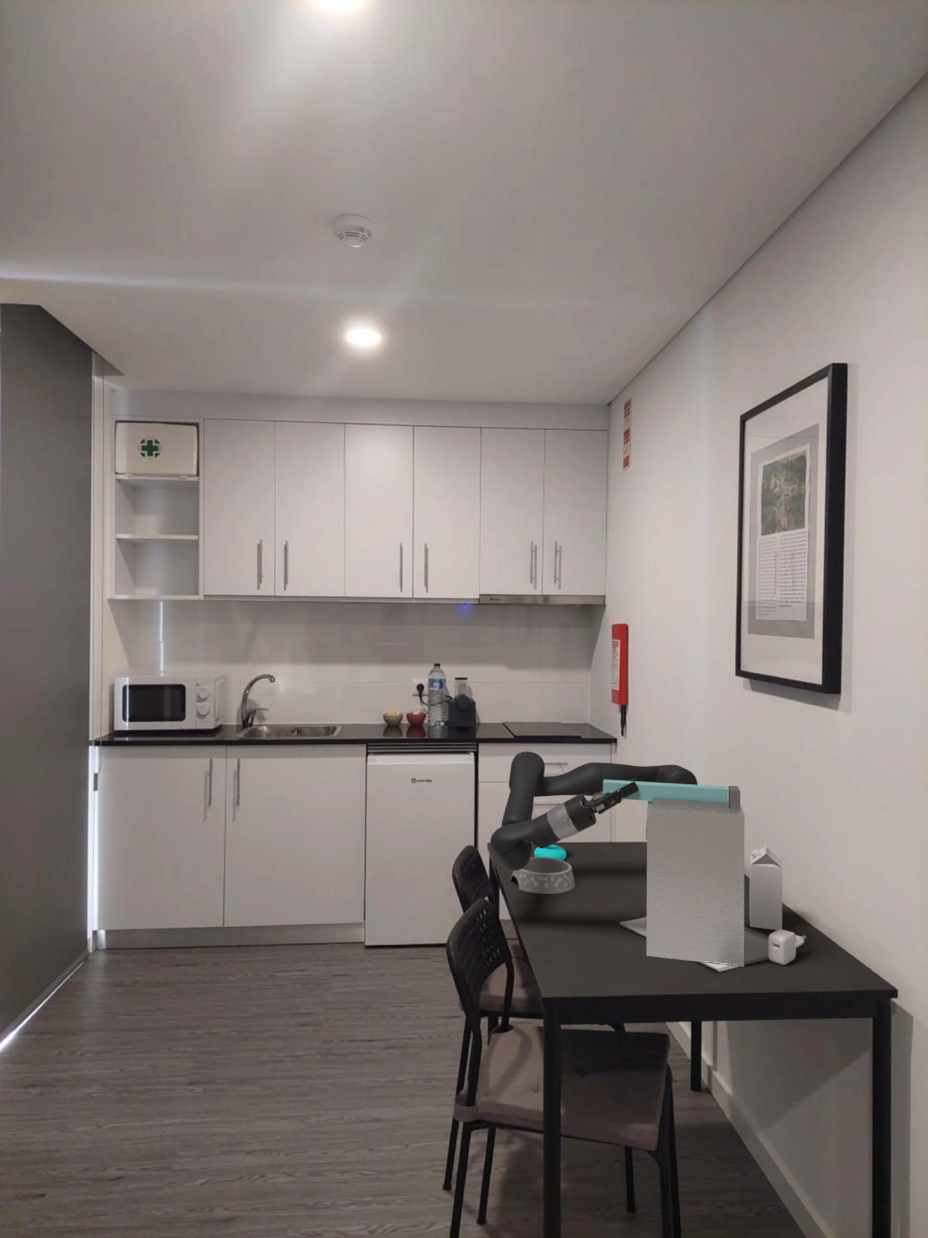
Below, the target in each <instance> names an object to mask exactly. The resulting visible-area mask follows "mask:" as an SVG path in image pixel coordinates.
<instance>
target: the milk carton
mask: <svg viewBox="0 0 928 1238" xmlns="http://www.w3.org/2000/svg"><path fill="white" fill-rule="evenodd" d="M749 927H751V928H756V929H757V928H758V929H763V930H765V929H766V930H774V931H777V930H779V929H783V864H782V861H781V859H780V858H779V857H778V856H777V855H776V853H775V854H774V852H772V851H771V850H770V849H769V848H768V847H767V842H766V841H764V846H763V847H761V848H760V849H759V848H755V849H754V850H752V851H751V852H750V856H749Z"/></svg>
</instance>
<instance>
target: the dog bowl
mask: <svg viewBox="0 0 928 1238" xmlns="http://www.w3.org/2000/svg"><path fill="white" fill-rule="evenodd" d="M573 871H574V870H573V867H572V864H570V863H568V862H567V861H565V860H559V859H554V858H546V857H535V856H534V857H532V856H531V858H530V860H529V862H528V864H527V865H526V866H525V867H524V868H522V869H521V870H517V871H513V870H512V873H511V877H510V880H509V881H510V882H511V881H512V879H514V878H515V879H516V881H517V884H518V889H519V890H520V891H524V892H527V893H531V892H532V893H533V894H544V895H550V894H552V895H553V894H560V893H561V894H562V893H567V892H569V891H571V890H573V889H574V888H575V887H576V882H575V878H574V872H573Z"/></svg>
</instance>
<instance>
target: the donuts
mask: <svg viewBox="0 0 928 1238" xmlns="http://www.w3.org/2000/svg"><path fill="white" fill-rule="evenodd" d="M533 856H534V857H546V858H554V859H559V860H562V861H565V859H566V858H567V851H566V850H565V848H563V847H562V846H559V845H555V844H552V845H550V846H548V847H546V848H539V847H537V846H536V848H535V850H534V852H533Z"/></svg>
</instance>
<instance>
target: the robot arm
mask: <svg viewBox="0 0 928 1238" xmlns="http://www.w3.org/2000/svg"><path fill="white" fill-rule="evenodd" d="M545 767H546V765H545V761H544V759H543V758H542V756H541V755H540V754H538V753H535V752H533V751H521V752H519V753H517V754H516V755H515V756H514V757H513V759H512V761H511V766H510V772H509V778H508V779H509V780H508V788H509V790H510V791H509V795H508V798H507V802H506V805H505V808H504V812H503V816H502V819H501V820H502V821H501V826H500V827H498V828H497V829H496V830H495V831H494V832H493V833H492V835H491V837H490V841H489V844H490V846H491V848H492V849H493V851H494V852H495V854H496V855H497V856H498V858H499V859H500V861H501V862H502V863H503V865H504V866H505V868H507V869H508V870H510V871H512V872H513V871H517V870H521V869H522V868H524V867H525V866H526V865H527V864H528V862H529V860H530V858H531V857H532V853H533V852H532V851H533V848H532V847H533V845H535V846H536V848H537V847H539V848H546V847H548V846H550V845H555V844H556V843H557V842H560V841H562V840H565V839H567V838H570V837H572V836H574V835H577V834H579V833H580V832H583V831H584V830H587V829H588V828H591V827H593V826H595V825H596V824H597V818H596V815H595V814H598V815H602V814H603V813H605V812H606V811H608V810H610V809H611V808H614V807H615V806H617V805H619V804H621V802H622V801H624V800H625V799H624V797H627V796H629V795H631V794H633V793H635V792H637V791H638V790H639V788H638V786H637V785H636V783H635V782H631V783H629V784H628V785H626V786H624V787H622V788H620V789H616V790H615V791H613V792H610V791H608V792H606V793H604V794H603V781H604V780H621V781H638V782H656V783H673V784H691V785H699V784H698V780H697V777H696V776H695V775H696V774H694V773H693V772H692V771H690V770H689V769H687V768H685V767H683V766H681V765H679V764H678V765H677V764H663V765H662V764H661V765H647V766H646V765H643V766H641V765H632V764H631V765H630V764H624V763H623V764H622V763H614V762H613V763H612V762H598V761H597V762H596V761H595V762H594V761H592V762H587V763H584V764H581V765H579V766H577V767H575V768H574V769H573V768H572V769H571V770H569V771H567V772H565V773H562V774H559V775H554V776H553V775H552V776H551V775H550V776H549V775H548V776H545V771H546V770H545V769H546V768H545ZM554 796H555V797H556V796H573V797H571V798H570V799H567V800H565V801H564V802H562V803H560V804H558V805H556V806H554V807H553V808H552V809H550V810H549V811H547V812H545V813H543V814H541V815H538V816H537V817H535V818H533V812H534V802H535V798H540V797H554ZM606 796H607V797H606ZM586 797H591V799H589V800H587V798H586ZM532 818H533V819H532ZM532 844H533V845H532Z"/></svg>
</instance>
